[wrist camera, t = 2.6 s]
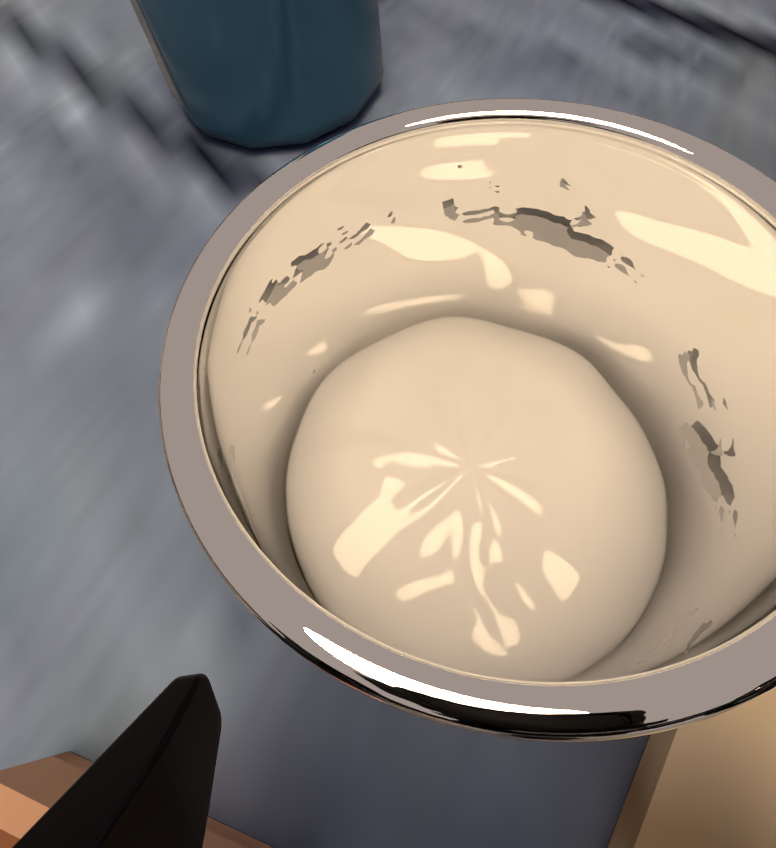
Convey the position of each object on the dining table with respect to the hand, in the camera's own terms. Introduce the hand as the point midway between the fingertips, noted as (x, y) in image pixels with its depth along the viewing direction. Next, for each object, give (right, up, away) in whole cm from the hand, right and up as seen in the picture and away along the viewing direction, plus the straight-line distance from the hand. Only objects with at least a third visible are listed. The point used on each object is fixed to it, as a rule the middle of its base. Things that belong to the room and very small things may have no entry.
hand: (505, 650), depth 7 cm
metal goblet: (0, -2, +11) cm, 11 cm away
